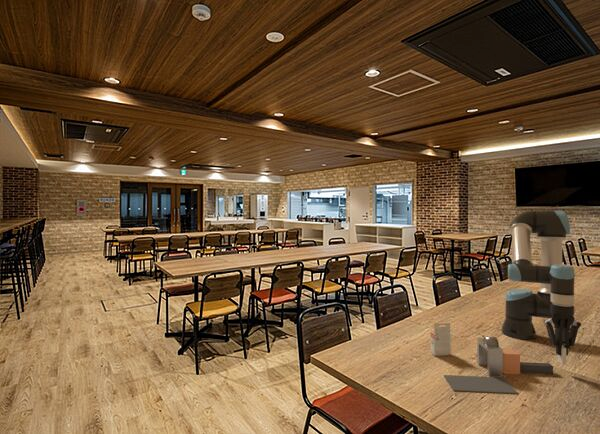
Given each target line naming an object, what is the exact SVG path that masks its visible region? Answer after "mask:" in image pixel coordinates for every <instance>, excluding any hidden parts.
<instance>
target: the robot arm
mask: <svg viewBox="0 0 600 434" xmlns="http://www.w3.org/2000/svg"><path fill="white" fill-rule="evenodd" d="M570 233H571V225H570V219H569V216H568V214H567V213H566V211H563V210H562V211H561V210H528V211H524V212H521V213H519V214H518V215H516V216H515V217H514V218H513V220H511V222H510V225H509V234H510V235H511V249H512V252H511V253H512V263H509V264H507V279H508V280H509V281H513V282H521V283H534V284H535V283H536V284H540V287H539V288H538V289H537V293H534V292H533V291H532V290H531V289H526V288H514V289H509V290H507V291H506V292H505V298H504V301H505V318H504V320H503V324H502V326H501V333H502V334H504V335H505V336H507V337H511V338H513V339H519V340H535V339H536V338H537V332H536V329H535V326H534V323H533V317H534V318H541V319H543V324H544V325H545V327H546V331H547V336H548V339H549V343H550V344H551V345H553V346H555V354H556V355H557V363H559V364H561V365H567V356H568V355H569V349H571V347H574V346H575V343H576V339H577V335H578V332H579V329H580V328H581V327H582V323H581V322H579V321H577V320H576V318H575V317H574V315H575V306H574V305H575V277H576V274H575V268H574V266H572V265H567V264H563V241H564V240H566V239H567V236H568V235H569V234H570ZM532 234H535V235H536V238H537V239H538V240H540V265H534V264H533V257H532V244H531V242H532V241H531V235H532Z"/></svg>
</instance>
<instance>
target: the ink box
mask: <svg viewBox="0 0 600 434" xmlns="http://www.w3.org/2000/svg"><path fill="white" fill-rule="evenodd" d="M433 326H434V327H433V328H434V331H430V354H431V355H432V356H434V357H439V356H440V357H441V356H443V357H444V356H451V353H452V351H451V348H452V347H451V345H452V344H451V341H452V340H451V338H452V337H451V323H450V322H447V323H434V325H433Z"/></svg>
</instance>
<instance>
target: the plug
mask: <svg viewBox="0 0 600 434" xmlns="http://www.w3.org/2000/svg"><path fill="white" fill-rule="evenodd" d="M502 349H503V374H505V375H521V374H537V375H538V374H539V375H541V374H542V375H554V365H552V364H551V363H547V362H525V361H524V362H523V361H521V354H520V353H519V352H517V350H515V349H513V348H502Z"/></svg>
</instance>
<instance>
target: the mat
mask: <svg viewBox="0 0 600 434" xmlns="http://www.w3.org/2000/svg"><path fill="white" fill-rule="evenodd" d="M443 377H444V379H445V380H446V382H447V383H448V385H449V386H450V388H451V389H452V391H453V392H462V393H463V392H466V393H467V392H470V393H484V394H485V393H488V394H513V395H518V394H519V392H518V391H517V390H516V389H515V388H514V387H513V386H512V385H511V384H510V383H509V382H508V381H507V380H506V379H505V377H489V376H481V375H480V376H478V375H477V376H476V375H473V376H472V375H452V374H448V375H447V374H444V375H443Z"/></svg>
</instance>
